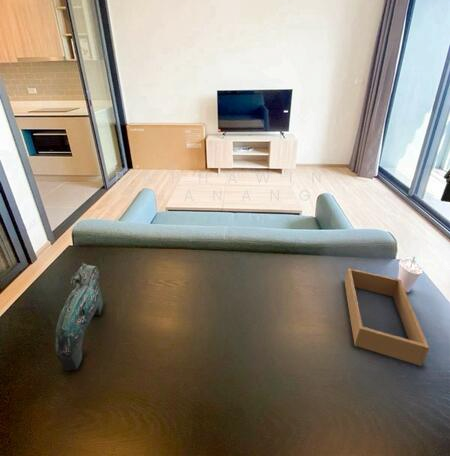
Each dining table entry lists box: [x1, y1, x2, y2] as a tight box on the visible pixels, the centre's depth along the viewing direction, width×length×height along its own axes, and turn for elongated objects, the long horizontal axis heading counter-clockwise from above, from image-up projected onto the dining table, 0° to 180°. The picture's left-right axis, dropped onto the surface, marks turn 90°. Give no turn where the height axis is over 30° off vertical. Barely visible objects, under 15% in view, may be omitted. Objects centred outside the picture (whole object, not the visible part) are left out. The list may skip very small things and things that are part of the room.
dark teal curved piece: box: [54, 262, 104, 371], centre depth 67 cm, size 20×6×20 cm, turn 5°
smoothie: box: [397, 256, 423, 294], centre depth 82 cm, size 6×6×14 cm
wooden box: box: [344, 267, 430, 367], centre depth 73 cm, size 16×22×7 cm
